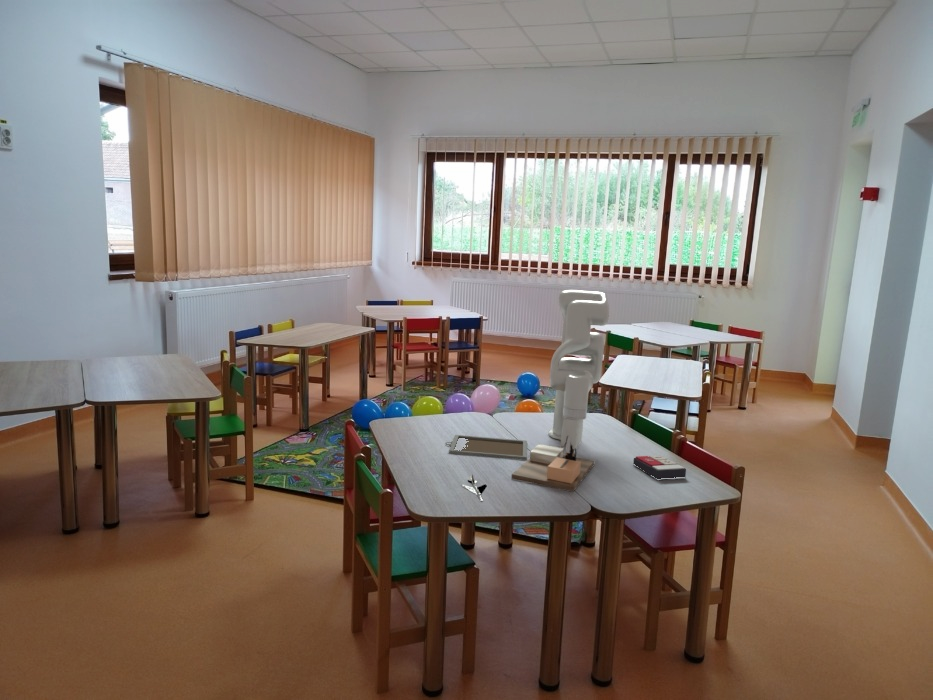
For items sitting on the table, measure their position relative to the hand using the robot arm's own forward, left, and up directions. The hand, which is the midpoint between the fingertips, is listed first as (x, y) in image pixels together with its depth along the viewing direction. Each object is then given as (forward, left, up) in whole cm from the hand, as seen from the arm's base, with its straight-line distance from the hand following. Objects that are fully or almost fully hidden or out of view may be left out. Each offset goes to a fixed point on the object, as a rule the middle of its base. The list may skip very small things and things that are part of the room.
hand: (570, 466), depth 206 cm
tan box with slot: (+7, 0, -1) cm, 7 cm away
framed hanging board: (-10, -34, -4) cm, 36 cm away
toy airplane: (+27, -22, -3) cm, 35 cm away
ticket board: (-1, -5, -3) cm, 6 cm away
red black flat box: (-20, +26, -3) cm, 33 cm away
